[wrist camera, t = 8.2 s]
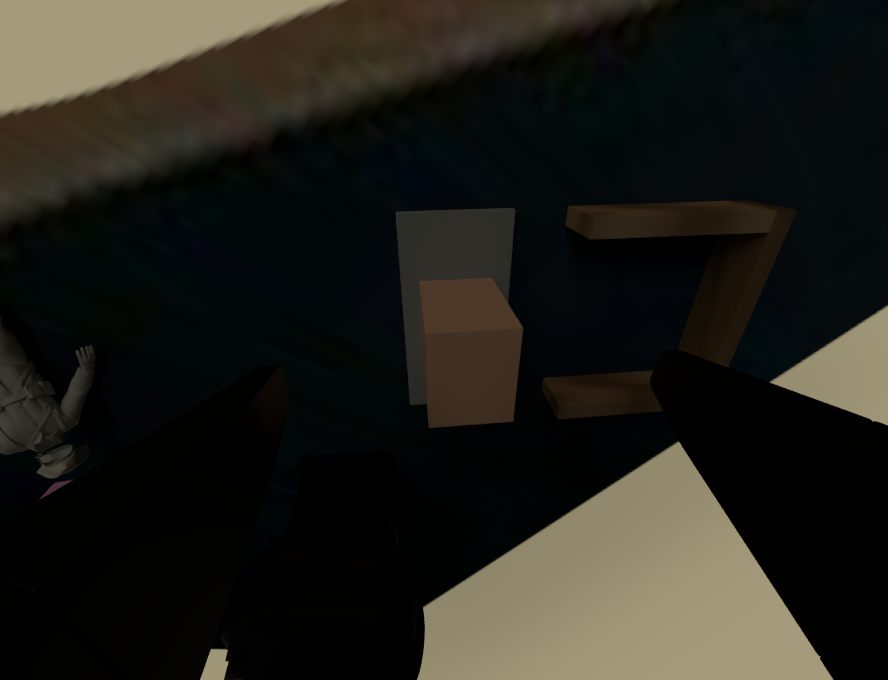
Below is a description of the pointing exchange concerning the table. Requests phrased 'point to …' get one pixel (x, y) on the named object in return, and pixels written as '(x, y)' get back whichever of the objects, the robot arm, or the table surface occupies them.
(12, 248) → the table surface
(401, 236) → the grey mat
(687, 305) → the table surface
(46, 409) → the soldier figure
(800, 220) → the table surface
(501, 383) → the terracotta block
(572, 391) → the u-shaped block
